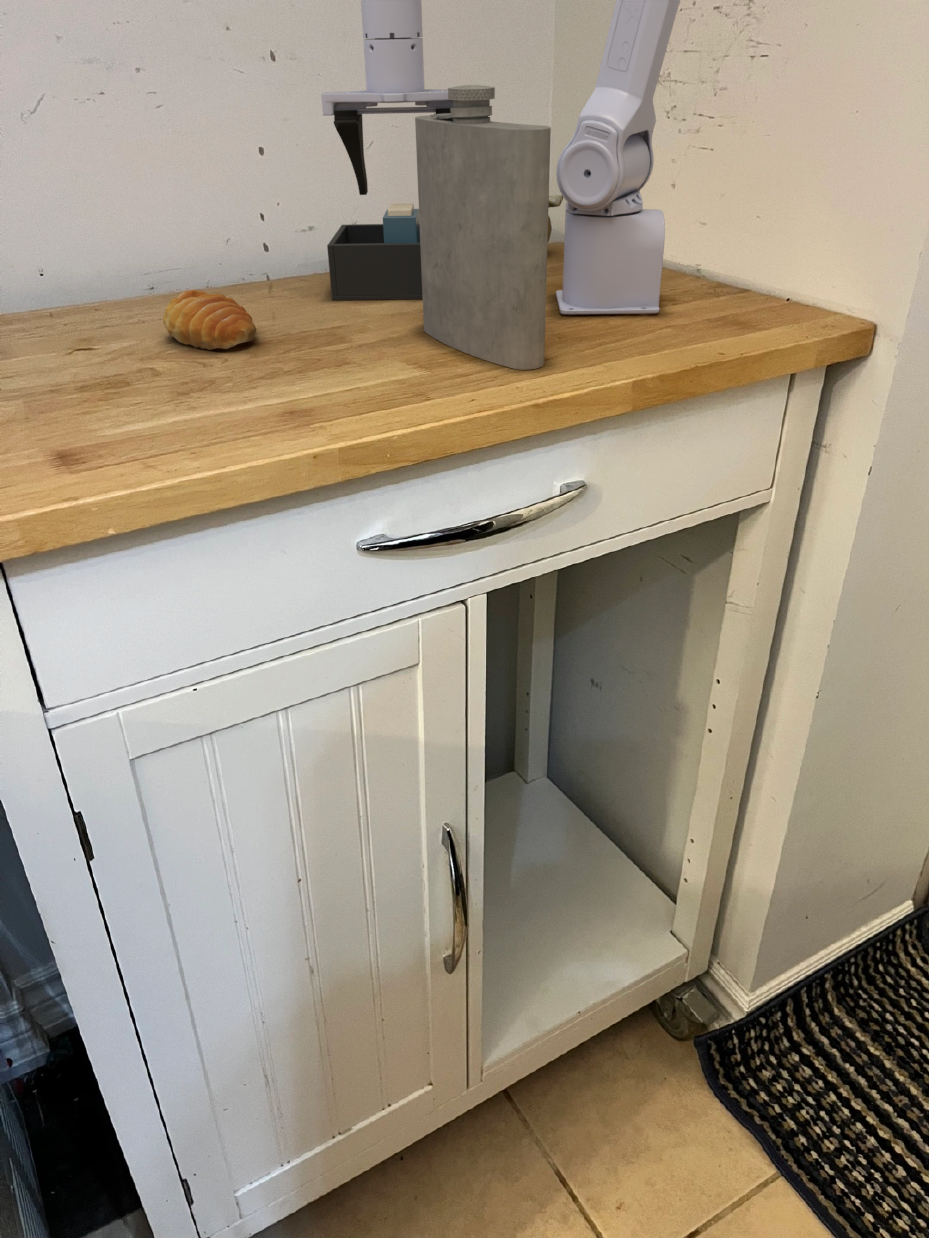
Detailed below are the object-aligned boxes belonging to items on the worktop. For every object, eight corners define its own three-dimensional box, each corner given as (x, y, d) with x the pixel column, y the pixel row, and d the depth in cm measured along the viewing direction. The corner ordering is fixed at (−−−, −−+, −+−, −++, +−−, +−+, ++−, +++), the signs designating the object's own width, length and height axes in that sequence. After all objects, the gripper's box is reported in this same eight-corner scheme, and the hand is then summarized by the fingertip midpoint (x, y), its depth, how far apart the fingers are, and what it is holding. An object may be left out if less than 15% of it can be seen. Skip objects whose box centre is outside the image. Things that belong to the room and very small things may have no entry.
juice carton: (421, 277, 103) (418, 202, 99) (418, 288, 99) (415, 210, 95) (390, 277, 103) (386, 203, 99) (386, 288, 99) (382, 211, 95)
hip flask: (552, 365, 78) (560, 88, 67) (512, 374, 76) (515, 91, 65) (445, 323, 89) (438, 80, 78) (409, 331, 87) (396, 82, 76)
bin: (470, 273, 106) (470, 222, 103) (469, 298, 97) (468, 243, 94) (345, 275, 106) (341, 224, 103) (332, 300, 97) (327, 245, 94)
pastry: (277, 342, 84) (271, 299, 82) (212, 360, 81) (204, 315, 78) (220, 323, 90) (214, 282, 88) (157, 339, 86) (148, 296, 84)
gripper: (312, 41, 87) (326, 200, 94) (469, 38, 87) (471, 197, 94) (321, 40, 93) (333, 189, 100) (468, 37, 93) (470, 187, 100)
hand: (400, 193), depth 97 cm, fingers open, 7 cm apart
